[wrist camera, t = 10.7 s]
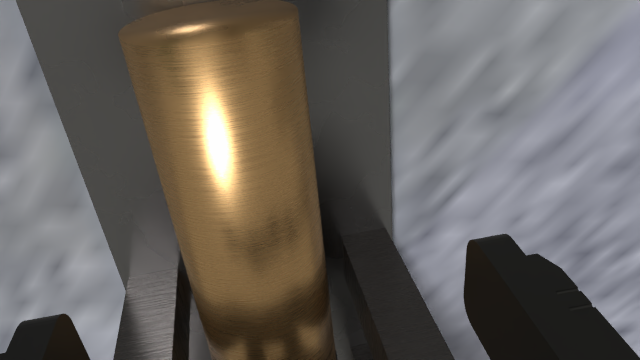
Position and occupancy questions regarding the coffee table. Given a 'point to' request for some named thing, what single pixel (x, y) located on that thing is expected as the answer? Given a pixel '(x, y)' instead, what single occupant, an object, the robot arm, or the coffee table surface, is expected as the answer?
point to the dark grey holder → (330, 163)
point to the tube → (238, 171)
